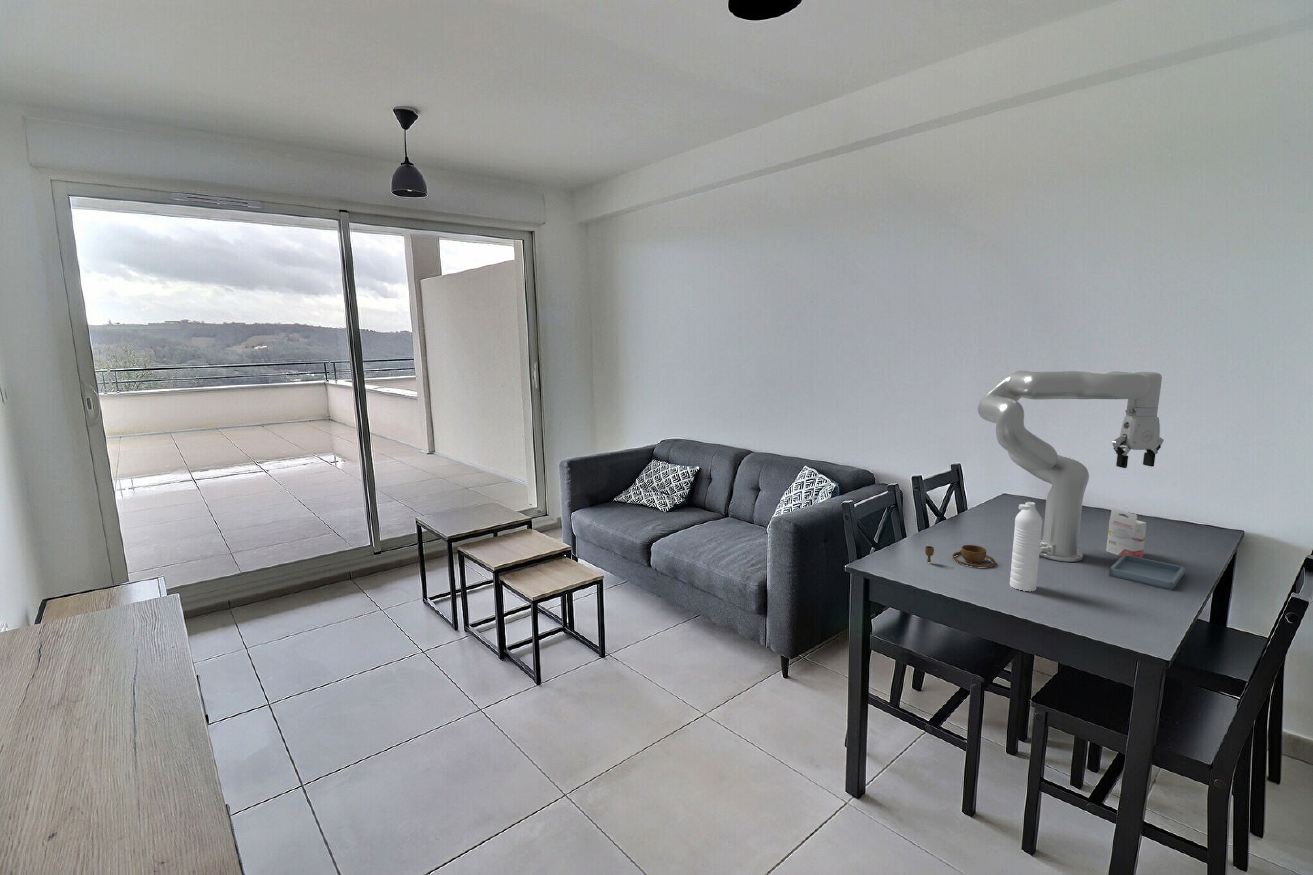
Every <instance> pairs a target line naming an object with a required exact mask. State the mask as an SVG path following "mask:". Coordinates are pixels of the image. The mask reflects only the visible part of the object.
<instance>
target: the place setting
mask: <svg viewBox="0 0 1313 875" xmlns="http://www.w3.org/2000/svg"><path fill="white" fill-rule="evenodd" d="M924 549H925V550H924V551H925V556H927V559H926V561H927V563H928V562H930V563H931V561H932V560H931V557H932V556H934V551H935V547H934V546H933V545H926V546H925V548H924ZM956 555H962V556H961V557H962V558H963V559H964V560H965V562H964V561H961V560H959V559H957V557H956V558H954V556H956ZM951 556H952V560H953V559H954V560H955V561H956V562H958V563H961V564H964V565H968V566H972V567H989V568H991V567H990V566H992V565H993V566H995V564H996V560H995V559H994V558H993V557H992V556H990V555H987V549H986V548H985V547H982V546H979V545H974V544H965V545H962V546H961V549H959V551H956V552H954V553H952V555H951ZM985 558H986V559H985ZM987 559H990V560H991V561H992V562H993V563H991V562H990V563H989V564H980V563H981V562H983V561H985V560H987ZM954 560H953V561H954ZM966 560H967V561H969V562H972V563H969V562H967V561H966ZM955 561H954V562H955ZM956 562H955V563H956ZM979 562H980V563H979ZM958 563H957V564H958ZM973 563H978V564H973ZM961 564H960V565H961ZM993 566H992V567H993ZM972 567H971V568H972Z"/></svg>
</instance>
